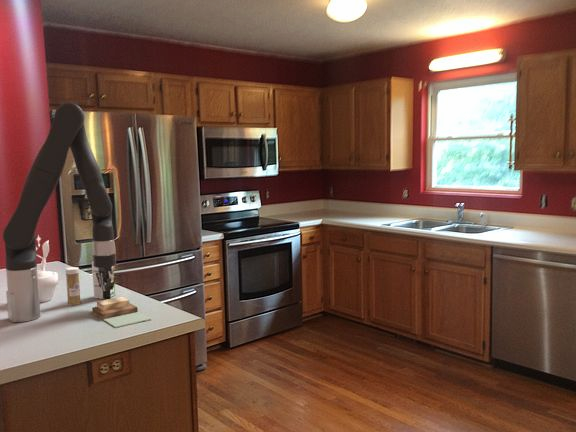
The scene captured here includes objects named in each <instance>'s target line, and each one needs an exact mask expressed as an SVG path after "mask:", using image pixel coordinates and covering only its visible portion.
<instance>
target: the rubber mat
mask: <svg viewBox="0 0 576 432" xmlns="http://www.w3.org/2000/svg"><path fill="white" fill-rule="evenodd" d="M151 320H152V318H151V317H149V316H146V315H145V314H144V313H141V312H139V311H138V312H136V313H131V314H126V315H121V316H117V317H112V318H107V319H104V320H103V321H104V322H105V321H106V324H109V325H110V326H112V327H113V328H115V329H117V328H121V327H126V326H131V325H135V324H139V323H143V322H149V321H151Z"/></svg>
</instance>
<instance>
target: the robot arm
mask: <svg viewBox="0 0 576 432" xmlns="http://www.w3.org/2000/svg"><path fill="white" fill-rule="evenodd" d="M85 118H86V117H85V113H84V111H83V109H82V108H81V107H80V106H79V105H78V104H77V103H74V102H63V103H62V104H60V105H59V106H57V107H56V109H55V111H54V114H53V119H52V123H51V126H50V130H49V132H48V135H47V137H46V139H45V141H44V143H43V144H42V146H41V147H40V149H39V151H38V153H37V155H36V157H35V159H34V160H33V163H32V164H31V167H30V168H29V169H30V170H29V171H28V173H27V176H26V178H25V181H24V185H23V188H22V190H21V194H20V198H19V201H18V203H17V206H16V208H15V210H14V212H13V214H12V216H11V217H10V220H9V221H8V223H7V224H6V226H5V227H4V229H3V230H2V240H3V242H4V248H5V262H4V263H5V272H6V284H7V290H6V291H5V293H6V303H7V317H8V320H9V321H10V322H11V323H21V322H22V323H23V322H29V321H33V320H36V319H39V318H40V317H41V304H40V303H41V302H39V289H38V275H37V271H38V263H37V260H38V259H37V258H38V256H37V255H38V254H37V251H36V247H37V245H36V244H37V243H36V241H37V240H36V229H37V227H38V223H39V220H40V217H41V214H42V212H43V210H44V208H45V207H46V206H47V205H48V202H49V201H50V199H51V197H52V195H53V194H54V191H55V190H56V187H57V185H58V183H59V180H60V178H61V177H62V174H63V170H64V168H65V164H66V161H67V156H68V153H69V150H70V151H71V153H72V157H73V160H74V165H75V167H76V171H77V174H78V176H79V179H80V182H81V185H82V187H83V189H84V191H85V192H86V196H87V197H86V198H87V201H88V203H89V207H90V211H91V212H90V213H91V219H92V229H91V230H92V231H91V232H92V258H93V260H92V262H93V263H94V267H97V268H98V272H97V273H96V277H97V280H98V283H99V286H100V288H101V289H102V290H103V299H102V300H107V299H112V297H111V295H110V290H112V289H113V287H114V284H116V279H117V277H115V276H114V277H113V271H112V266H113V267H114V266H116V265H117V259H116V258H117V255H116V245H115V244H116V243H115V236H114V235H115V233H114V226H113V203H112V201H111V198H110V196H109V193H108V190H107V188H106V185H105V181H104V178H103V175H102V172H101V170H100V167H99V164H98V161H97V159H96V157H95V155H94V152H93V150H92V148H91V145H90V142H89V141H88V136H87V133H86V127H85ZM36 254H37V255H36Z"/></svg>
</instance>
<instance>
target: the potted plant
mask: <svg viewBox="0 0 576 432" xmlns="http://www.w3.org/2000/svg"><path fill="white" fill-rule="evenodd" d="M35 240H36V241H37V243H38V245H37V246H38V247H37V246H36V252H37V250H38V249H39V247H40V246H41V244H40V241H41V240H42V238H41V237H40V235H39V234H38V235H37V238H35ZM49 241H50V240H49V239H48V240H46V241H44V242H43V244H42V254H43V256H41V255H39V254H37V253H36V255H37V258H40V259H41V264H40V269H37V275H38V289H39V302H40V303H47V302H49V301H52V299H53V297H54V293H55V290H56V287H57V286H58V285H59V274H58V272H55V271H50V270H48V271H47V270H46V263H47V257H48V255H49V253H50V245H49Z"/></svg>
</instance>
